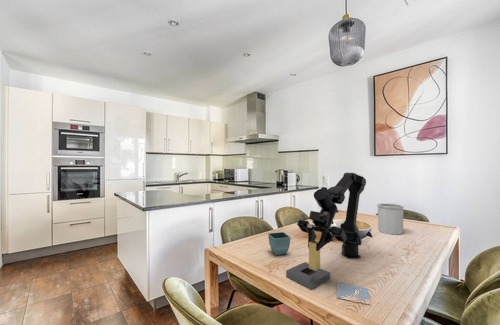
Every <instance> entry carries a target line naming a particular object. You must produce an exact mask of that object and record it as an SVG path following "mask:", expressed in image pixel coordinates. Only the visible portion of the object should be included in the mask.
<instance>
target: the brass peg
mask: <svg viewBox="0 0 500 325" xmlns="http://www.w3.org/2000/svg"><path fill="white" fill-rule="evenodd" d="M318 242H319V240H316V239H315V240H312V241H310V242H309V248H308V263H309V268H310V269H313V270H315V271H317V270H318V269H320V268H321V249H320V250H319V251H316V247H317V245H318Z"/></svg>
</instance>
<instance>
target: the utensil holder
mask: <svg viewBox="0 0 500 325" xmlns="http://www.w3.org/2000/svg"><path fill="white" fill-rule="evenodd" d="M376 206H377V226H378V231H379V232H380V233H383V234H388V235H403V233H404V209H405V208H404V206H405V205H403V204H399V203H391V202H390V203H389V202H379V203H377V204H376Z"/></svg>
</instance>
